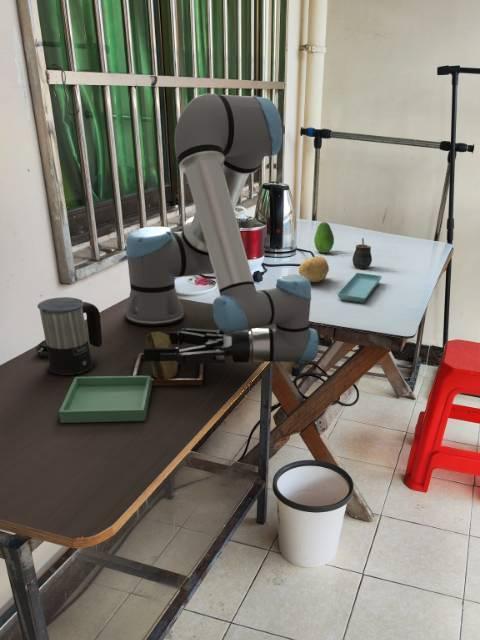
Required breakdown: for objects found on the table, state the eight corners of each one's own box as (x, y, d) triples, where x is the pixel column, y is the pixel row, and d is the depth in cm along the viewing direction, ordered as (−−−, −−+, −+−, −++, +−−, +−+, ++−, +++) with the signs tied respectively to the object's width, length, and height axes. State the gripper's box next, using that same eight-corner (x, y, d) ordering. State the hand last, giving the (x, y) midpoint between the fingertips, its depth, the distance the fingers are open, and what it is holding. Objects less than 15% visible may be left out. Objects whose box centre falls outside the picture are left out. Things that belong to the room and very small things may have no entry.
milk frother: (79, 378, 127) (69, 312, 120) (12, 369, 129) (-2, 304, 122) (110, 354, 140) (103, 293, 132) (49, 346, 142) (38, 285, 134)
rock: (166, 347, 139) (131, 353, 131) (182, 324, 134) (148, 329, 126) (190, 383, 138) (157, 392, 130) (208, 362, 133) (174, 370, 125)
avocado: (309, 251, 238) (311, 221, 233) (323, 249, 243) (325, 219, 237) (323, 256, 234) (325, 225, 228) (337, 253, 238) (339, 223, 232)
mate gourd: (354, 270, 218) (357, 242, 213) (349, 264, 225) (351, 237, 220) (373, 270, 220) (376, 242, 215) (367, 264, 226) (369, 238, 221)
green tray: (76, 386, 124) (74, 376, 123) (151, 385, 127) (151, 375, 125) (60, 423, 111) (58, 411, 110) (144, 420, 113) (143, 409, 112)
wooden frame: (139, 358, 138) (138, 352, 138) (203, 357, 141) (203, 352, 140) (131, 386, 126) (131, 380, 125) (202, 385, 128) (202, 379, 127)
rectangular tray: (364, 304, 184) (365, 296, 182) (336, 300, 186) (337, 292, 184) (381, 283, 206) (382, 275, 204) (356, 279, 208) (356, 272, 206)
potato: (333, 278, 207) (334, 255, 203) (320, 288, 196) (322, 264, 192) (307, 274, 210) (308, 251, 206) (293, 284, 198) (294, 260, 194)
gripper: (252, 381, 126) (143, 382, 122) (247, 343, 144) (152, 343, 140) (252, 348, 122) (139, 349, 118) (246, 313, 141) (149, 313, 137)
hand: (146, 346), depth 129 cm, fingers closed on rock, 9 cm apart
